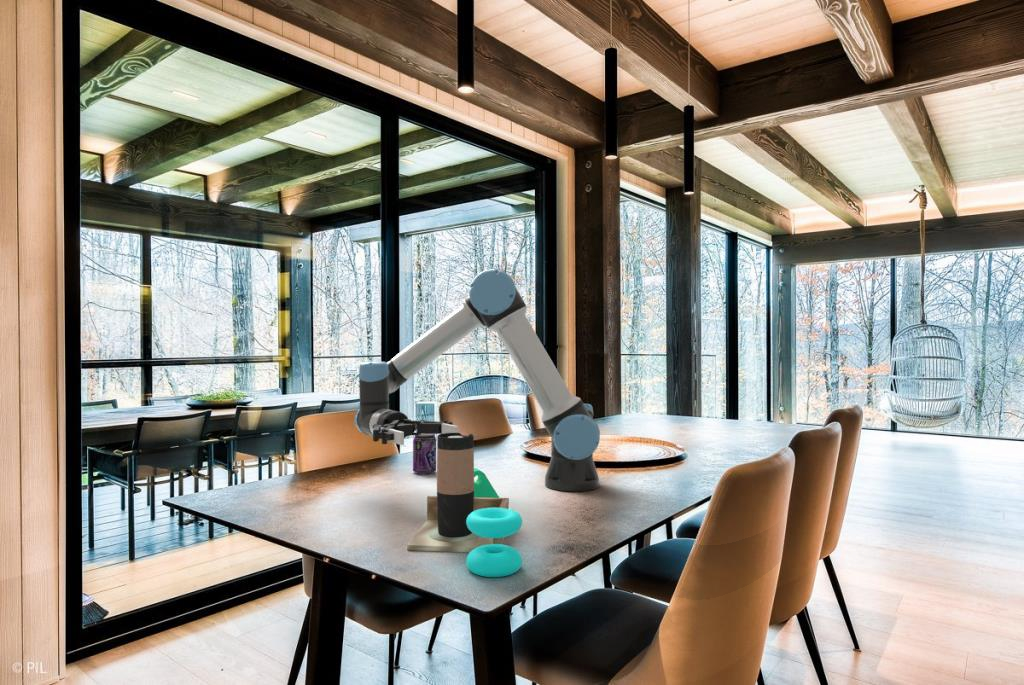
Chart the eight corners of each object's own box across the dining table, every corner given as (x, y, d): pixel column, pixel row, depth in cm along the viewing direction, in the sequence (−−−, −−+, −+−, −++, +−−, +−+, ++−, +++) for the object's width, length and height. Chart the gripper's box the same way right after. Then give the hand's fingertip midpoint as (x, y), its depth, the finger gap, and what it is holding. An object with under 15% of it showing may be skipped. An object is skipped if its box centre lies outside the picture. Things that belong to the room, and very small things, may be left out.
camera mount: (491, 504, 154) (491, 463, 154) (501, 512, 147) (501, 469, 147) (444, 508, 150) (444, 466, 150) (452, 517, 143) (452, 472, 143)
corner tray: (508, 525, 136) (508, 498, 136) (499, 553, 118) (499, 522, 118) (428, 522, 138) (428, 495, 138) (407, 550, 120) (407, 519, 120)
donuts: (458, 518, 107) (476, 504, 116) (458, 576, 107) (476, 557, 116) (514, 523, 104) (528, 507, 114) (514, 582, 104) (527, 562, 114)
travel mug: (440, 539, 122) (440, 438, 122) (434, 528, 130) (434, 433, 130) (477, 536, 124) (477, 437, 124) (469, 525, 132) (469, 431, 132)
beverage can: (420, 476, 185) (420, 436, 185) (408, 472, 190) (408, 433, 190) (440, 473, 189) (440, 434, 189) (428, 469, 195) (428, 431, 195)
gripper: (434, 435, 161) (478, 446, 144) (341, 446, 147) (377, 459, 129) (434, 406, 161) (477, 413, 144) (341, 414, 147) (377, 423, 129)
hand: (430, 435), depth 137 cm, fingers open, 13 cm apart
